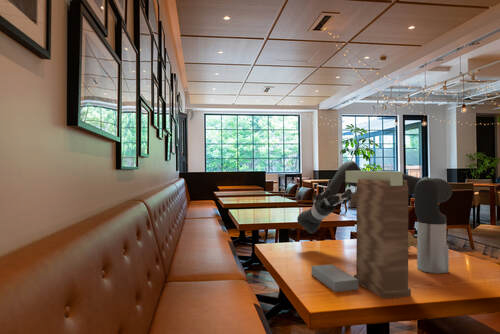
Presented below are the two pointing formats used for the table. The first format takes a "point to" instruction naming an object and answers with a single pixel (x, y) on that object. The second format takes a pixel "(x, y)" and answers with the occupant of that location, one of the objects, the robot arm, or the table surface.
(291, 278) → the table surface
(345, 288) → the base block
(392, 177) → the pale green bar
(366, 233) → the pedestal
